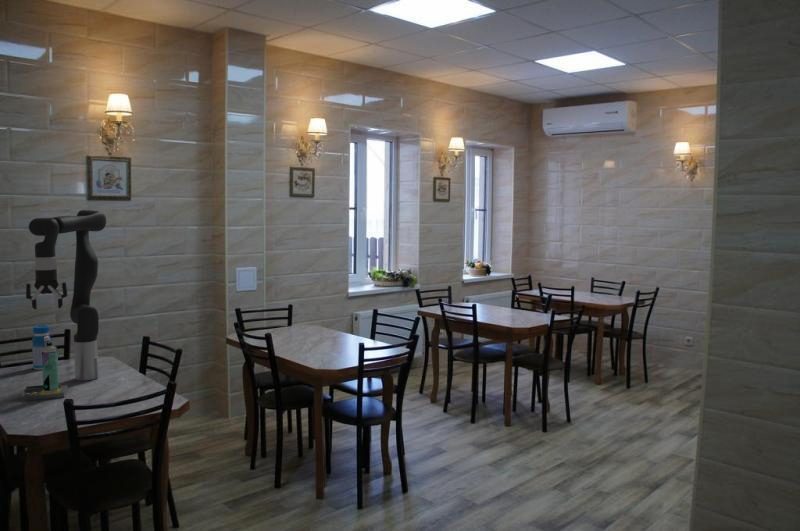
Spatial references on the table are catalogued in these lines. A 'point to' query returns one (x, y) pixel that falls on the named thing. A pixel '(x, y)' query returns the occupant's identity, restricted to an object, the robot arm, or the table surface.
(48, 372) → the spray can
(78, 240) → the robot arm
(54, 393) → the panel
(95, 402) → the table surface
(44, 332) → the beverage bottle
